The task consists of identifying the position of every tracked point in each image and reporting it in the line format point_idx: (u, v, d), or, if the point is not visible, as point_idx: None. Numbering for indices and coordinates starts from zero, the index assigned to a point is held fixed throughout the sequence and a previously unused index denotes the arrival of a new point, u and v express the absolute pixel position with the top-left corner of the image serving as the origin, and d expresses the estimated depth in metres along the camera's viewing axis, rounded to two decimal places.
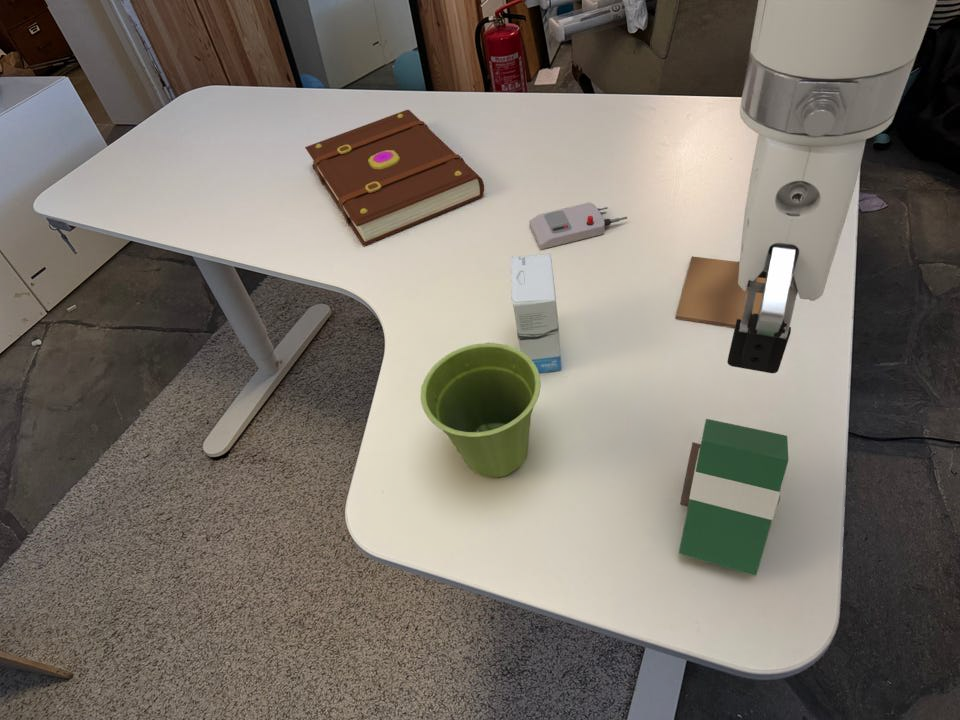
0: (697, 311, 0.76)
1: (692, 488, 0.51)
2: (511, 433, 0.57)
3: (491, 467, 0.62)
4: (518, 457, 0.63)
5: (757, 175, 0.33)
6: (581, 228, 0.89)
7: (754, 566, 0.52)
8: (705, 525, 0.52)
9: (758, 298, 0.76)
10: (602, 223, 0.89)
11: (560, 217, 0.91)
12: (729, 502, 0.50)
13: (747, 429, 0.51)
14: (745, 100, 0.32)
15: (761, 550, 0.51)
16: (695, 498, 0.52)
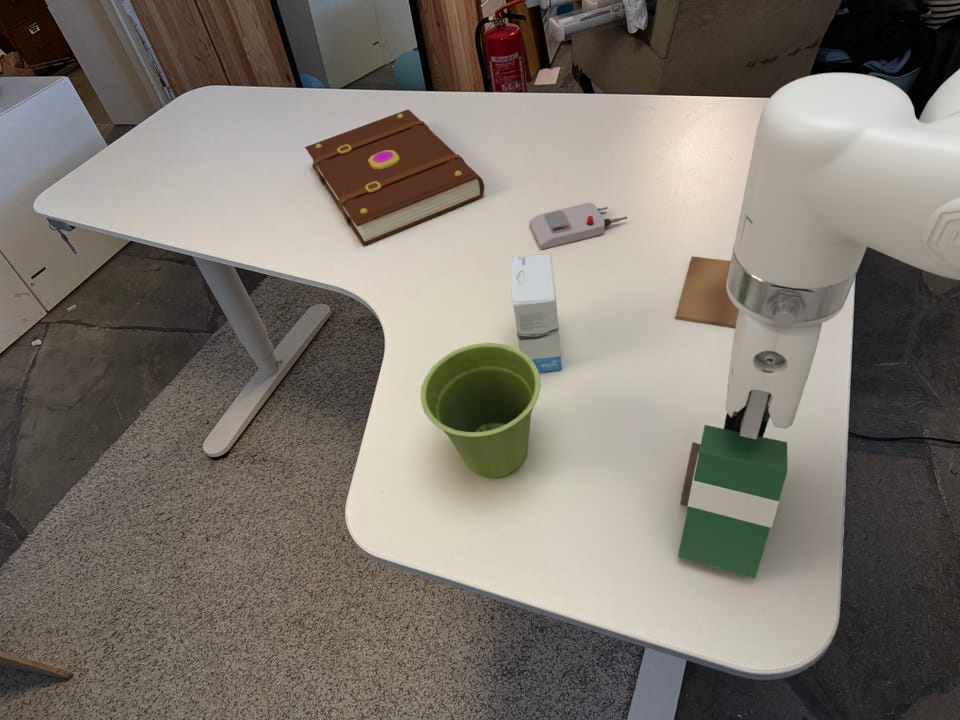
0: (697, 311, 0.76)
1: (690, 496, 0.51)
2: (511, 433, 0.57)
3: (491, 467, 0.62)
4: (518, 457, 0.63)
5: (739, 339, 0.42)
6: (581, 229, 0.89)
7: (753, 570, 0.52)
8: (704, 531, 0.52)
9: None
10: (602, 223, 0.89)
11: (560, 217, 0.91)
12: (728, 510, 0.50)
13: None
14: (730, 282, 0.41)
15: (760, 555, 0.51)
16: (693, 505, 0.51)
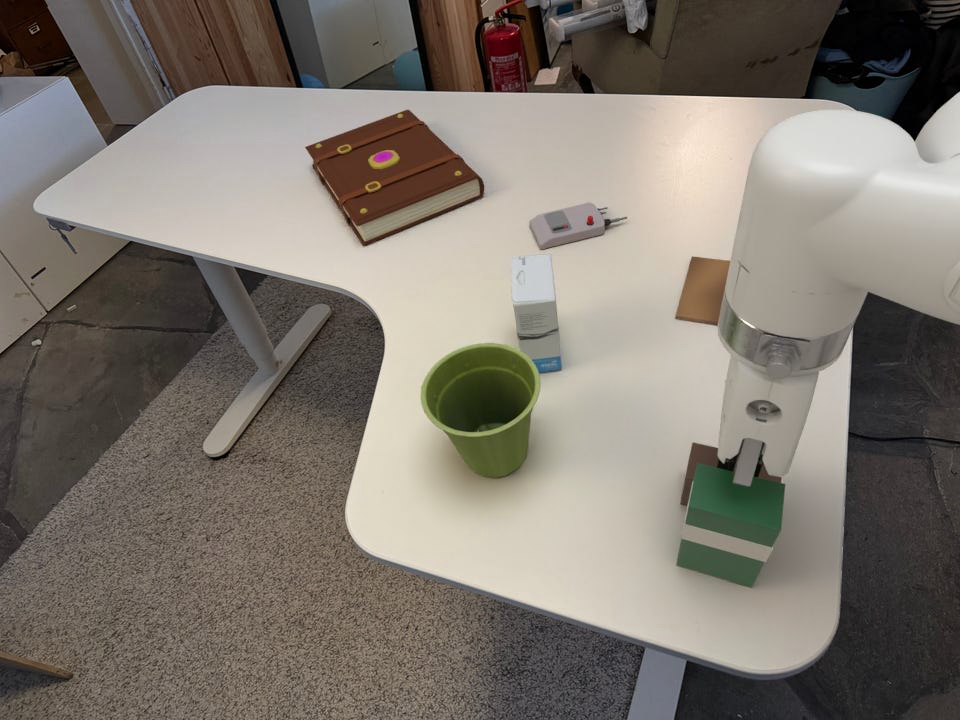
0: (697, 311, 0.76)
1: (683, 533, 0.50)
2: (511, 433, 0.57)
3: (491, 467, 0.62)
4: (518, 457, 0.63)
5: (731, 386, 0.39)
6: (581, 229, 0.89)
7: (750, 582, 0.53)
8: (699, 554, 0.52)
9: None
10: (602, 223, 0.89)
11: (560, 217, 0.91)
12: (721, 546, 0.49)
13: None
14: (721, 325, 0.39)
15: (755, 575, 0.51)
16: (687, 539, 0.51)
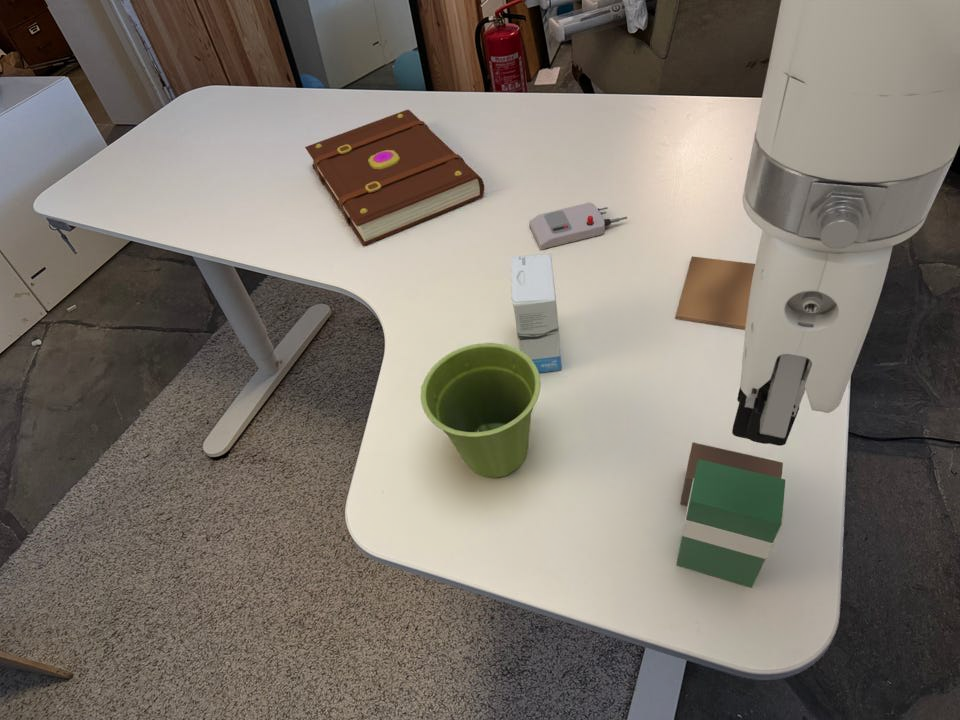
0: (697, 311, 0.76)
1: (684, 530, 0.50)
2: (511, 433, 0.57)
3: (491, 467, 0.62)
4: (518, 457, 0.63)
5: (763, 278, 0.28)
6: (581, 229, 0.89)
7: (750, 582, 0.53)
8: (700, 553, 0.52)
9: None
10: (602, 223, 0.89)
11: (560, 217, 0.91)
12: (722, 543, 0.49)
13: (742, 473, 0.48)
14: (749, 191, 0.27)
15: (756, 574, 0.51)
16: (688, 536, 0.51)
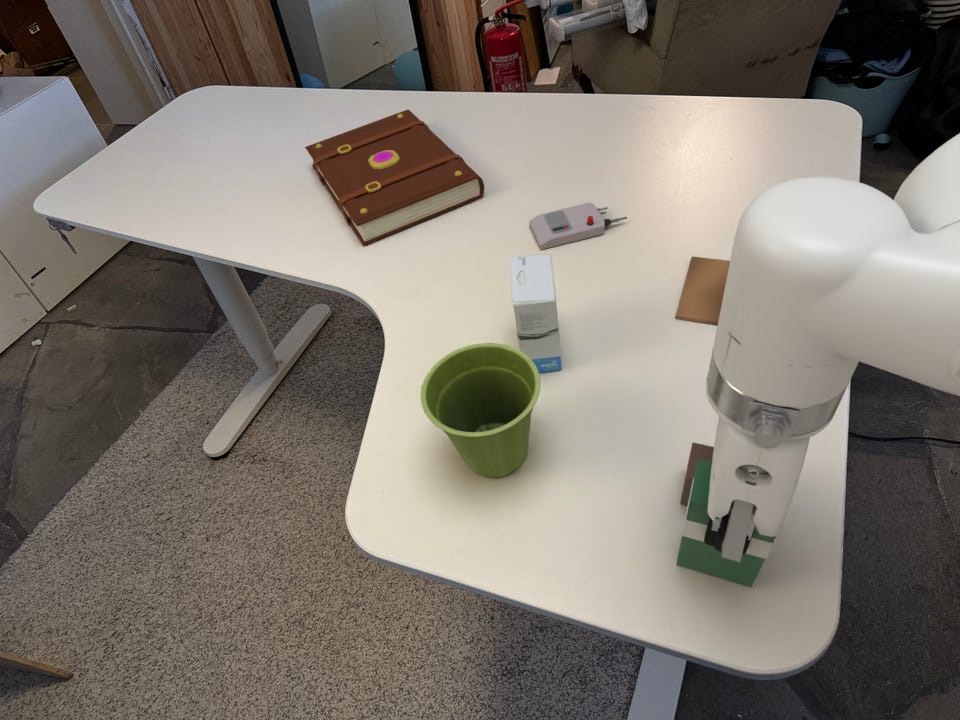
0: (697, 311, 0.76)
1: (684, 529, 0.50)
2: (511, 433, 0.57)
3: (491, 467, 0.62)
4: (518, 457, 0.63)
5: (720, 448, 0.38)
6: (581, 229, 0.89)
7: (750, 582, 0.53)
8: (700, 552, 0.52)
9: None
10: (602, 223, 0.89)
11: (560, 217, 0.91)
12: None
13: None
14: (709, 386, 0.38)
15: (756, 574, 0.51)
16: (687, 536, 0.51)
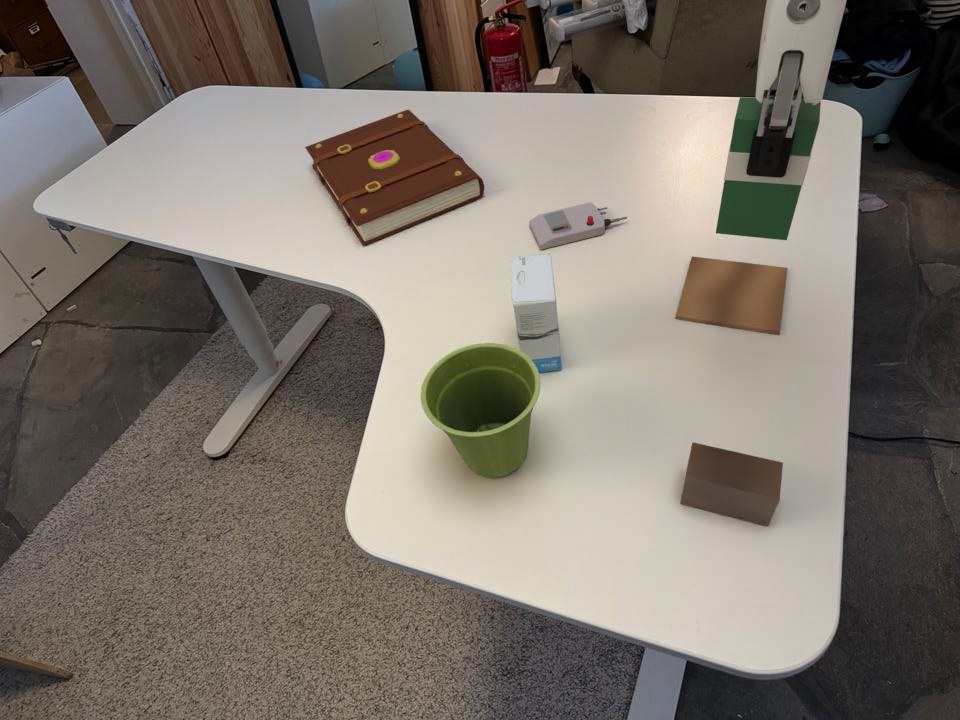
0: (697, 311, 0.76)
1: (726, 169, 0.55)
2: (511, 433, 0.57)
3: (491, 467, 0.62)
4: (518, 457, 0.63)
5: None
6: (581, 229, 0.89)
7: (785, 231, 0.57)
8: (740, 202, 0.57)
9: (758, 298, 0.76)
10: (602, 223, 0.89)
11: (560, 217, 0.91)
12: None
13: None
14: None
15: (791, 215, 0.56)
16: (729, 178, 0.56)
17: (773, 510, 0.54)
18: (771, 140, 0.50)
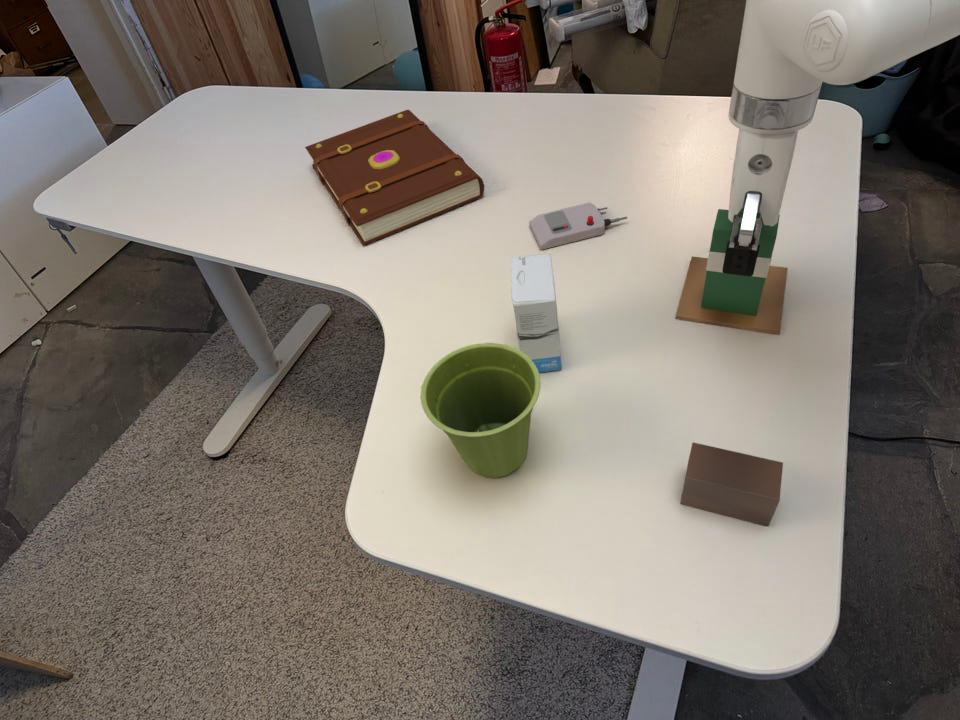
0: (697, 311, 0.76)
1: (708, 263, 0.71)
2: (511, 433, 0.57)
3: (491, 467, 0.62)
4: (518, 457, 0.63)
5: (738, 151, 0.58)
6: (581, 229, 0.89)
7: (754, 309, 0.73)
8: (719, 286, 0.73)
9: None
10: (602, 223, 0.89)
11: (560, 217, 0.91)
12: None
13: None
14: (731, 109, 0.58)
15: (758, 298, 0.72)
16: (710, 269, 0.71)
17: (773, 510, 0.54)
18: (740, 250, 0.63)
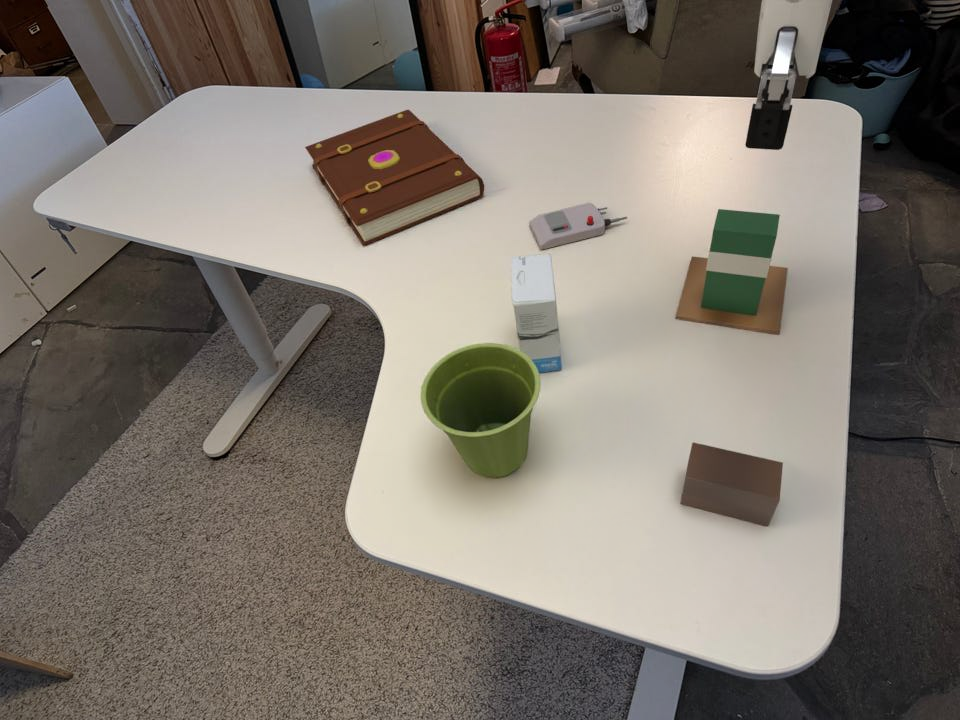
0: (697, 311, 0.76)
1: (708, 263, 0.71)
2: (511, 433, 0.57)
3: (491, 467, 0.62)
4: (518, 457, 0.63)
5: None
6: (581, 229, 0.89)
7: (754, 309, 0.73)
8: (719, 286, 0.73)
9: None
10: (602, 223, 0.89)
11: (560, 217, 0.91)
12: (735, 269, 0.70)
13: (749, 213, 0.68)
14: None
15: (758, 298, 0.72)
16: (710, 269, 0.71)
17: (773, 510, 0.54)
18: (769, 112, 0.53)
